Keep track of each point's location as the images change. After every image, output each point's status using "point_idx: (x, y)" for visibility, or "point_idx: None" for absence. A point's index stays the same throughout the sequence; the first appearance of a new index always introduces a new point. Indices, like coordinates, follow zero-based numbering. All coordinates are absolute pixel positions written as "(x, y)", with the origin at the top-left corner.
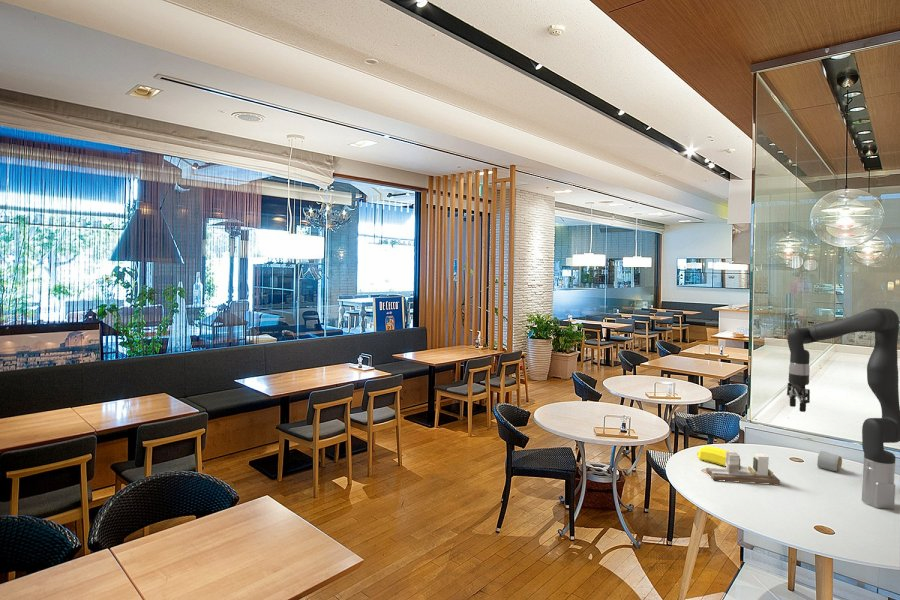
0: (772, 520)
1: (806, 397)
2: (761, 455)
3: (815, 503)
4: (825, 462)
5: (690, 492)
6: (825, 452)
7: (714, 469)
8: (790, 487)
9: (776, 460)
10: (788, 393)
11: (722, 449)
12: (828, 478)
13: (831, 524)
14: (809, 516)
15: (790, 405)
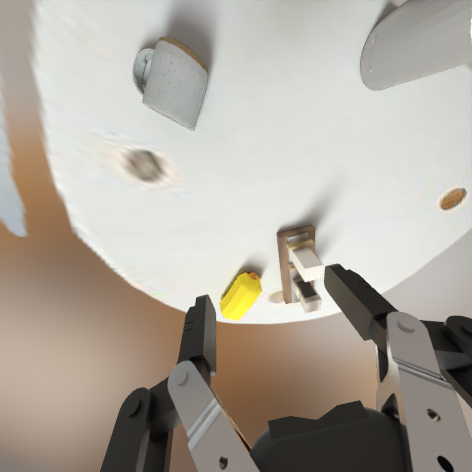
0: (418, 248)
1: (447, 383)
2: (315, 273)
3: (378, 188)
4: (199, 109)
5: None
6: (171, 98)
7: (295, 298)
8: (319, 211)
9: (179, 210)
10: (171, 436)
11: (240, 302)
12: (254, 123)
13: (443, 185)
14: (416, 207)
15: (215, 317)
